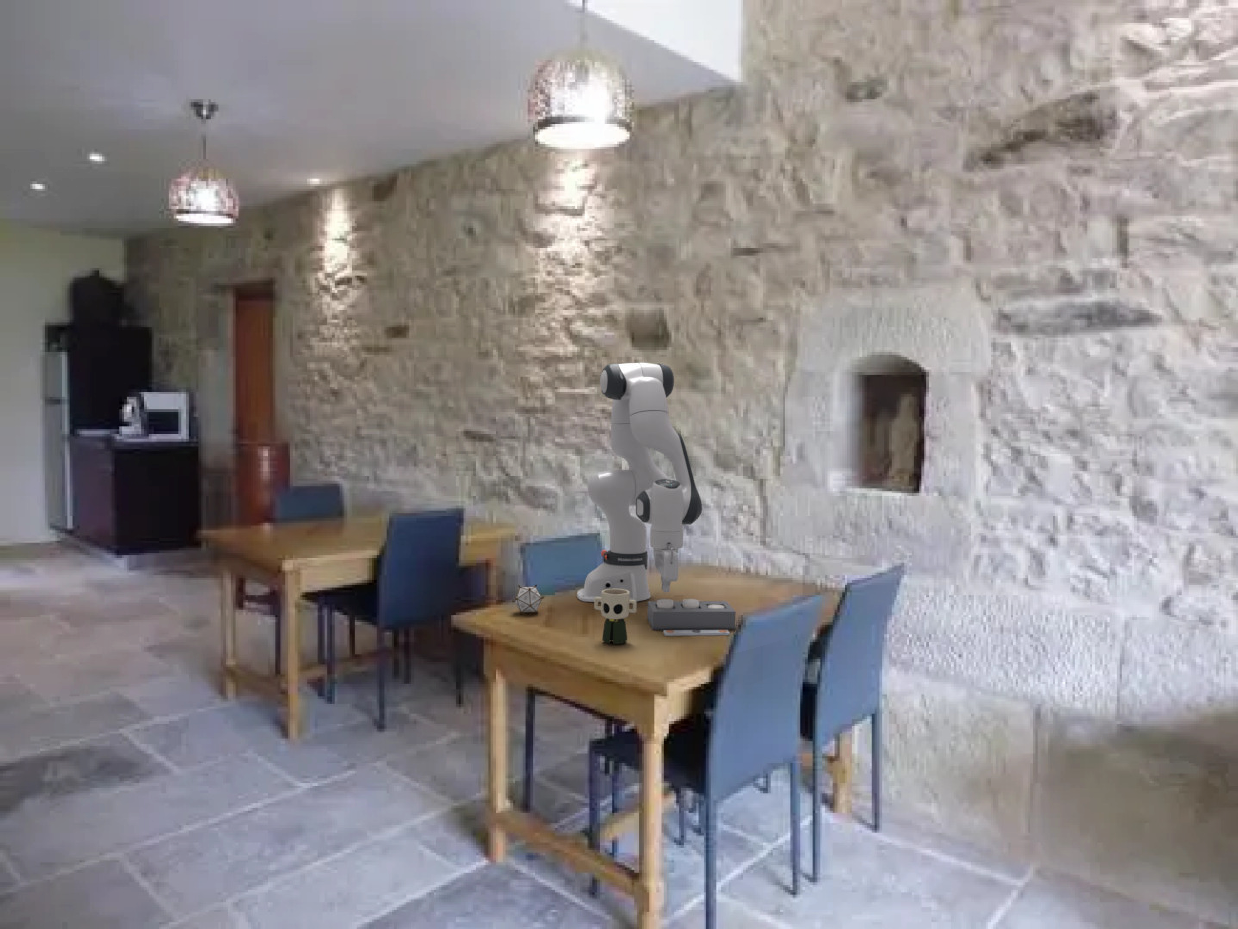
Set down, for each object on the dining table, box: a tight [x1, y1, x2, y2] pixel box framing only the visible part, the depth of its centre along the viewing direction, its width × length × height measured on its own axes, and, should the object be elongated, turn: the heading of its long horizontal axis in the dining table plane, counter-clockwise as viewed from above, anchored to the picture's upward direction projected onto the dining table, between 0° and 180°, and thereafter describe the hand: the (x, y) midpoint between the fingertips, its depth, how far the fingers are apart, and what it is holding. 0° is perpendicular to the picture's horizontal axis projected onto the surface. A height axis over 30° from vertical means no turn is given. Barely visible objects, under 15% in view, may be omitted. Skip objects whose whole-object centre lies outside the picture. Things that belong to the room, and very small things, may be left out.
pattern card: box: [662, 630, 731, 637], centre depth 233 cm, size 17×3×1 cm, turn 95°
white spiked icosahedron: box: [511, 584, 545, 615], centre depth 251 cm, size 9×8×10 cm
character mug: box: [593, 589, 638, 645], centre depth 223 cm, size 11×7×13 cm, turn 75°
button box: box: [646, 600, 736, 631], centre depth 242 cm, size 22×12×5 cm, turn 95°
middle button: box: [682, 598, 700, 609], centre depth 242 cm, size 4×4×3 cm
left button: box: [656, 598, 674, 609], centre depth 241 cm, size 4×4×3 cm
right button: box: [708, 605, 724, 608], centre depth 243 cm, size 4×4×3 cm
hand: (665, 591), depth 241 cm, fingers closed
